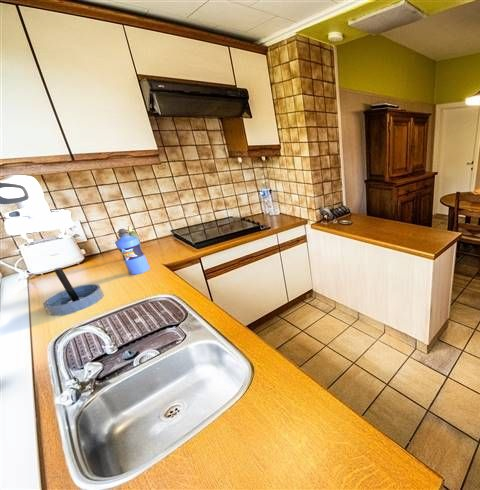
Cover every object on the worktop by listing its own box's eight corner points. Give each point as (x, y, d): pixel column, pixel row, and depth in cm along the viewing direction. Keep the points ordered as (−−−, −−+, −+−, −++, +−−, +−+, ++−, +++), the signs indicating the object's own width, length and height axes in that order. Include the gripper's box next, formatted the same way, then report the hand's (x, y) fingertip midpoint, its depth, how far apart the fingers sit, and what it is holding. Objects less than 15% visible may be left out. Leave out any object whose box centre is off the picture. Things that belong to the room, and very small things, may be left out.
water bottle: (134, 268, 152) (115, 227, 142) (153, 265, 154) (136, 225, 144) (126, 276, 144) (105, 233, 133) (146, 273, 146) (127, 230, 136)
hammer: (70, 309, 115) (47, 273, 108) (69, 304, 119) (47, 269, 112) (87, 303, 119) (67, 268, 112) (86, 299, 123) (66, 264, 115)
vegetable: (138, 254, 170) (125, 225, 162) (146, 253, 172) (134, 224, 164) (136, 257, 167) (123, 227, 159) (144, 255, 168) (132, 226, 160)
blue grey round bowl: (51, 324, 108) (43, 312, 106) (50, 308, 119) (42, 297, 116) (108, 303, 120) (102, 292, 118) (102, 290, 131) (96, 280, 128)
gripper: (68, 208, 130) (78, 235, 133) (-1, 215, 115) (12, 245, 118) (69, 207, 126) (79, 236, 129) (-3, 214, 111) (11, 246, 114)
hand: (47, 240), depth 123 cm, fingers open, 8 cm apart
